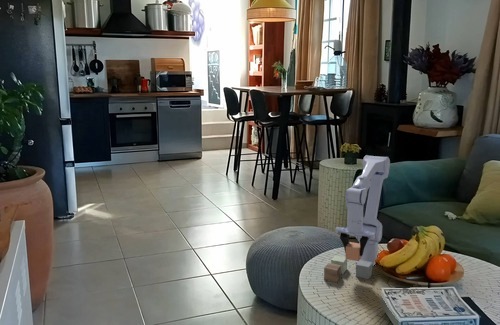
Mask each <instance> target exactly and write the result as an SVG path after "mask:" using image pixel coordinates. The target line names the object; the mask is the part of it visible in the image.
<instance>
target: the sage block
mask: <svg viewBox="0 0 500 325" xmlns="http://www.w3.org/2000/svg"><path fill="white" fill-rule="evenodd" d="M345 258H346V256H341V255H338V254H337V255H334V256H333V257H332V258H331V259H330V263H332V264H337V265H341V275H343V274H345V272H346V271H347V270H348V259H345Z"/></svg>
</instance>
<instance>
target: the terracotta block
mask: <svg viewBox="0 0 500 325" xmlns="http://www.w3.org/2000/svg"><path fill="white" fill-rule="evenodd" d="M345 257H346V258H345V259H347V261H349V260H350V261H355V262H356V261H359V260H360V259H361V257H362V256H360V244H359V242H352V241H349V243H348V245H347V246H346V253H345Z"/></svg>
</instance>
